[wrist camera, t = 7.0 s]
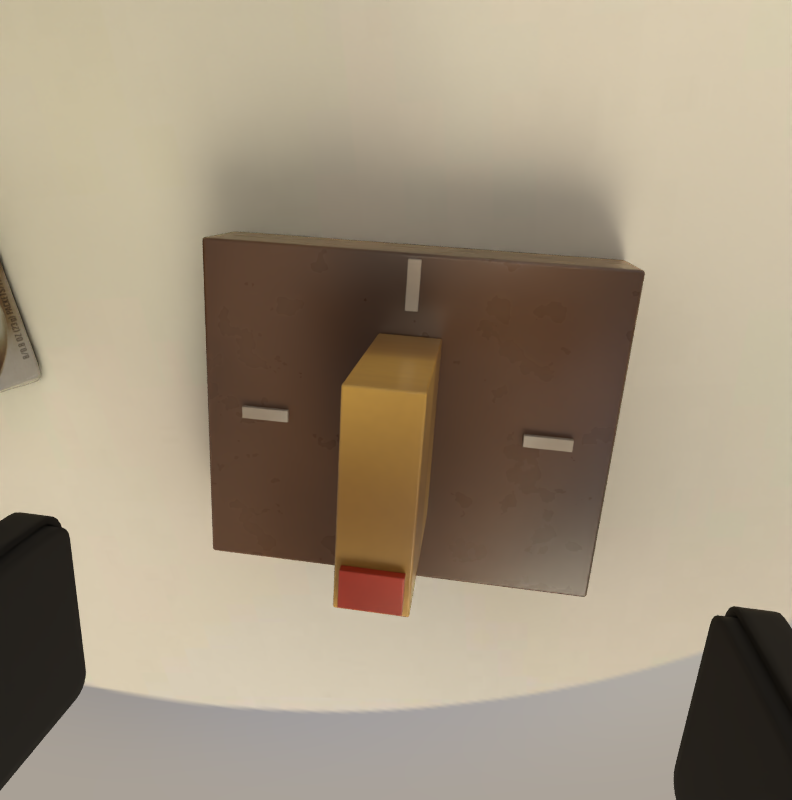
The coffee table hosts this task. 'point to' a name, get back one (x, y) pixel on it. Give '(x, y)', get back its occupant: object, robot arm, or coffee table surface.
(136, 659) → the coffee table surface
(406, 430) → the yellow slab
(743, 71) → the coffee table surface
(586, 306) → the panel
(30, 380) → the coffee box
